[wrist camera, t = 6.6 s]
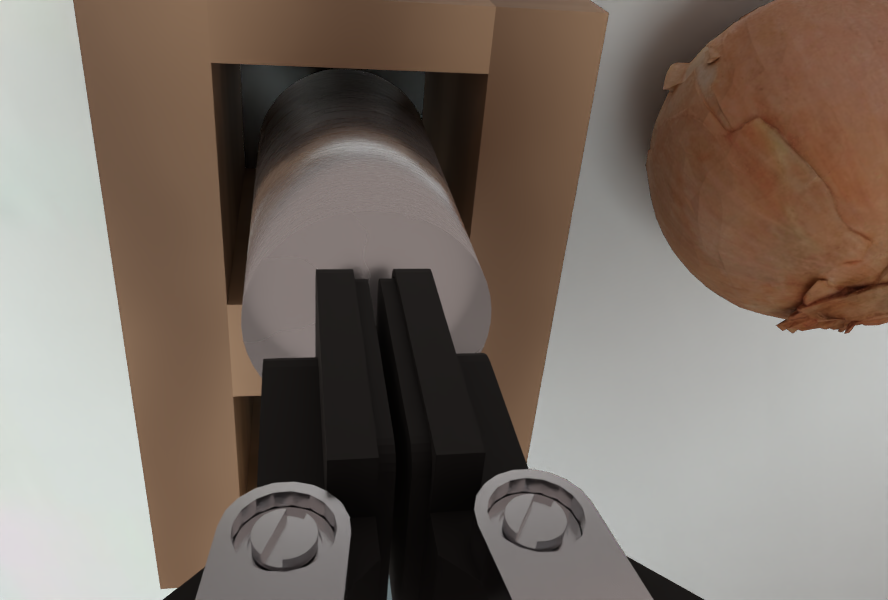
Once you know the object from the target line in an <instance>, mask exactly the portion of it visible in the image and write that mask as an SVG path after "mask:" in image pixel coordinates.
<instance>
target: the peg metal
mask: <svg viewBox="0 0 888 600" xmlns="http://www.w3.org/2000/svg"><path fill="white" fill-rule="evenodd" d="M316 269H353V271H354V277H355V279H368V281H369V287H370V293H371V299H372V305H373V312H374V318H375V324H376V315H377V294H378V281H379V279H380V278H391V277H392V271H393V269H431V271H432V274H433V277H434V281H435V284H436V288H437V291H438V294H439V298H440V301H441V304H442V308H443V311H444V314H445V318H446V321H447V324H448V328H449V331H450V334H451V338H452V341H453V344H454V348H455V351H456V354H458V353H481V351H482V350H483V347H484V345H485V342H486V339H487V336H488V332H489V328H490V323H491V299H490V293H489V289H488V285H487V281H486V279H485V276H484V274H483V272H482V269H481V267H480V264H479V262H478V259H477V257H476V254H475V252H474V249H473V247H472V244H471V242H470V239H469V237H468V234H467V232H466V229H465V227H464V224H463V222H462V219H461V217H460V214H459V212H458V209H457V207H456V204H455V202H454V199H453V197H452V194H451V192H450V189H449V187H448V184H447V182H446V179H445V177H444V174H443V172H442V169H441V167H440V164H439V162H438V159H437V157H436V154H435V152H434V150H433V147H432V145H431V142H430V140H429V137H428V135H427V132H426V130H425V127H424V125H423V122H422V120H421V118H420V115H419V113H418V111H417V110H416V108H415V106H414V105H413V104H412V102H411V101H410V100H409V99H408V97H407V96H406V95H405V94H404V93H403V92H402V91H401V90H400V89H399V88H397V87H396V86H394V85H393V84H392V83H390V82H389V81H387V80H385V79H383V78H381V77H379V76H377V75H374V74H371V73H369V72H365V71H360V70H354V69H331V70H325V71H321V72H317V73H314V74H311V75H309V76H306V77H304V78H302V79H300V80H299V81H297V82H295V83H294V84H292V85H291V86H290V87H288V88H287V89H286V90H285V91H284V92H283V93H282V94H281V95H280V96H279V97H278V98H277V99H276V100H275V102H274V103H273V105H272V106H271V107H270V109H269V111H268V113H267V115H266V117H265V119H264V122H263V125H262V128H261V132H260V138H259V146H258V155H257V165H256V175H255V185H254V195H253V204H252V214H251V224H250V234H249V244H248V253H247V263H246V273H245V283H244V293H243V302H242V312H241V329H242V336H243V342H244V345H245V348H246V352H247V354H248V356H249V358H250V361H251V363H252V365H253V366H254V368H255V369H256V371H257V372H258V374H259V375H260V377H261V378H262V367H263V359H266V358H305V357H315V276H316Z"/></svg>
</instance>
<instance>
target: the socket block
mask: <svg viewBox="0 0 888 600" xmlns="http://www.w3.org/2000/svg"><path fill="white" fill-rule="evenodd" d="M73 2H74V9H75V16H76V23H77V29H78V36H79V43H80V49H81V56H82V63H83V70H84V76H85V83H86V90H87V97H88V103H89V110H90V117H91V124H92V130H93V137H94V144H95V150H96V157H97V164H98V171H99V177H100V184H101V191H102V198H103V204H104V211H105V218H106V224H107V231H108V238H109V245H110V251H111V258H112V265H113V272H114V278H115V285H116V292H117V298H118V305H119V312H120V319H121V325H122V332H123V339H124V346H125V352H126V359H127V366H128V372H129V379H130V386H131V393H132V399H133V406H134V413H135V420H136V426H137V433H138V440H139V447H140V453H141V460H142V467H143V473H144V480H145V487H146V494H147V500H148V507H149V514H150V521H151V527H152V534H153V541H154V547H155V554H156V561H157V568H158V574H159V581H160V588H161V589H167V588H178V587H180V586H181V585H182V584H184V583H185V582H186V581H187V580H189V579H190V578H191V577H193V576H194V575H195V574H196V573H198V572H199V571H200V570H201V569H203V568H204V567H205V565H206V562H207V558H208V555H209V552H210V548H211V545H212V542H213V538H214V535H215V532H216V528H217V525H218V524H219V522H220V520H221V518H222V516H223V514H224V512H225V510H226V509H227V508H228V507H229V506H230V505H231V504H232V503H233V502H235V501H236V500H237V499H238V498H239V497H241V496H242V495H244V494H246V493H248V492H250V491H251V490H253V489H255V488H257V473H258V451H259V430H260V409H261V387H262V378H261V377H260V375H259V374H258V372H257V371H256V369H255V368H254V366H253V365H252V363H251V361H250V358H249V356H248V354H247V352H246V348H245V345H244V342H243V336H242V329H241V312H242V302H243V293H244V283H245V273H246V263H247V253H248V244H249V234H250V224H251V214H252V204H253V195H254V185H255V175H256V168H245V155H244V134H243V113H242V92H241V71H240V64H252V65H277V66H302V67H327V68H352V69H377V70H401V71H426V74H425V88H424V102H423V116H422V122H423V125H424V127H425V130H426V132H427V135H428V137H429V140H430V142H431V145H432V147H433V150H434V152H435V154H436V157H437V159H438V162H439V164H440V167H441V169H442V172H443V174H444V177H445V179H446V182H447V184H448V187H449V189H450V192H451V194H452V197H453V199H454V202H455V204H456V207H457V209H458V212H459V214H460V217H461V219H462V222H463V224H464V227H465V229H466V232H467V234H468V237H469V239H470V242H471V244H472V247H473V249H474V252H475V254H476V257H477V259H478V262H479V264H480V267H481V269H482V272H483V274H484V276H485V279H486V281H487V285H488V289H489V293H490V299H491V323H490V328H489V332H488V336H487V339H486V342H485V345H484V347H483V350H482V351H481V353H485V354H487V356H488V358H489V360H490V362H491V365H492V368H493V370H494V373H495V376H496V379H497V382H498V384H499V387H500V390H501V393H502V396H503V399H504V401H505V404H506V407H507V410H508V413H509V416H510V418H511V421H512V424H513V427H514V430H515V432H516V435H517V438H518V441H519V444H520V447H521V449H522V452H523V455H524V458H525V461H526V463H527V458H528V452H529V447H530V441H531V436H532V430H533V425H534V419H535V414H536V408H537V403H538V398H539V392H540V387H541V381H542V376H543V370H544V365H545V359H546V354H547V348H548V343H549V337H550V332H551V327H552V321H553V316H554V310H555V305H556V299H557V294H558V288H559V283H560V277H561V272H562V266H563V261H564V256H565V250H566V245H567V239H568V234H569V228H570V223H571V217H572V212H573V206H574V201H575V195H576V190H577V185H578V179H579V174H580V168H581V163H582V157H583V152H584V146H585V141H586V135H587V130H588V124H589V119H590V114H591V108H592V103H593V97H594V92H595V86H596V81H597V75H598V70H599V64H600V59H601V53H602V48H603V42H604V37H605V32H606V26H607V21H608V15H609V13H608V12H607V11H605V10H604V9H602V8H601V7H599V6H598V5H596V4H595V3H593V2H592V1H590V0H73Z"/></svg>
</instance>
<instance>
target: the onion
mask: <svg viewBox="0 0 888 600" xmlns="http://www.w3.org/2000/svg"><path fill="white" fill-rule="evenodd" d="M663 90H670V91H669V93H668V95H667V97H666V99H665V101H664V103H663V105H662V107H661V110H660V112H659V114H658V117H657V119H656V122H655V125H654V129H653V132H652V137H651V142H650V149H649V150H648V154H647V161H646V170H647V175H648V182H649V189H650V196H651V200H652V204H653V208H654V212H655V215H656V219H657V221H658V223H659V226H660V228H661V230H662V232H663V235H664V236H665V238H666V240H667V242H668V243H669V245H670V247H671V249H672V250H673V252H674V253H675V254H676V256H677V257H678V258H679V259H680V261H681V262H682V263H683V264H684V265H685V266H686V268H687V269H688V270H689V271H690V272H691V273H692V274H693V275H694V276H695V277H696V278H697V279H698V280H699V281H701V282H702V283H703V284H704V285H705V286H706V287H708V288H709V289H710V290H712V291H713V292H715V293H716V294H717V295H719V296H721V297H723V298H724V299H726V300H728V301H729V302H731V303H733V304H735V305H737V306H738V307H740V308H744V309H747V310H750V311H754V312H757V313H760V314H764V315H769V316H773V317H778V318H782V319H786V320H784V321H783V322H781V323H779V324H778V325H776V326H777V327H779V328H780V329H781V330H782V331H783V330H786V329H787V330H789V331H790V332H791V333H794V332H795V331H797V330H801V331H804V330H810V329H816V328H822V329H828V328H830V329H833V330H835V329H839V330H838V331H839V332H843V331H844V330H846V331H845V333H844V334H846V333H849V332H850V331H851V330H852V329H853V327H854V326H855V325H860V324H863V325H881V324H884V323H887V322H888V0H774V1H772V2H770V3H768V4H766V5H764V6H761V7H759V8H757V9H755V10H754V11H752V12H750V13H748V14H746V15H744V16H743V17H741V18H740V19H739V21H737V22H734V23H733V24H732V25H731V26H730V27H728V28H727V29H726V30H725V31H723V32H722V33H721V34H720V35H718V36H717V37H716V38H714V39H713V40H711V41H710V42H708V44H706V46H705V47H704V48H702V50H701V51H700V52H699V53H698V54H697V56H696V57H695V58H694V59H693V60H692V61H691V62H690V63H674V64H672V65H671V66H670V67H669V69H668V71H667V73H666V77H665V81H664V86H663Z"/></svg>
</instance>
